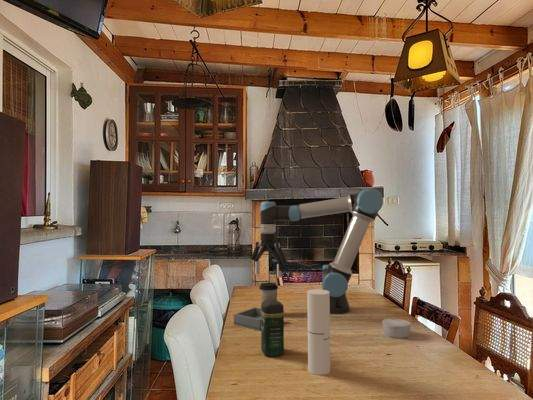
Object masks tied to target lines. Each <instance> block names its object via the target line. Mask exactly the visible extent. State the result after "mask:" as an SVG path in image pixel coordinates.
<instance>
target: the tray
mask: <svg viewBox="0 0 533 400" xmlns="http://www.w3.org/2000/svg"><path fill="white" fill-rule="evenodd" d="M233 325H235V326H238V327H243V328H248V329H251V330H256V331H259V332H260V331H261V307H256V306H254V307H251V308H248V309H245V310H243V311H240V312H236V313H234V314H233Z"/></svg>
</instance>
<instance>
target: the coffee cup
mask: <svg viewBox="0 0 533 400" xmlns="http://www.w3.org/2000/svg"><path fill="white" fill-rule="evenodd" d="M258 288H259V290H260V301H261V302H260V305H261V304H262V302H263V301H265V300H267V299H275V300H277V301H278V289H279V286H278V285H277V283H276V282H262V283H260V285H259V287H258Z"/></svg>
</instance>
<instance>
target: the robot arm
mask: <svg viewBox="0 0 533 400" xmlns="http://www.w3.org/2000/svg"><path fill="white" fill-rule="evenodd" d="M383 205H384V197H383V196H382V194H381V192H380V191H378V190H377V189H375V188H371V187H369V188H364V189H362V190H361V191H359V192H356V193H352V194H348V195H347V196H346V197H345V196H344V197H340V198H339V197H338V198H333V199H327V200H321V201H320V200H319V201H313V202H307V203H300V204H294V205H277V204H276V202H275V201H262V202H261V204H260V211H259V212H260V214H259V215H260V241H256V242H255V247H254V250H253V252H252V254H251V256H250V260H252V261H253V267H254V275H256V276H257V275H260V272H261V270H260V269H261V267H260V266H261V263H260V259H261V257H262V256H263V255H264V253H266V252H268V253H271V254H272V255H273V257H274V259H275V260H276V262H277V264H276V278H278V279H279V278H282V273H283V272H282V271H283V269H284V264H285V263H287V260H286V256H285V255H284V251H283V249H282V245H281V242H278V243H276V240H277V239H276V237H277V236H276V235H277V234H276V232H277V231H276V230H277V229H276V228H277V226H276V225H277V224H276V222H279V221H281V222H298V221H299V220H302V219H307V218H316V217H321V216H328V215H329V216H330V215H335V214H343V213H349V212H350V213H351V214H352V218H350V222H349V223H348V227H347V229H346V231H345V233H344V236H343V239H342V241H341V242H340V246H339V248H338V250H337V252H336V255H335V257H334V260H333V261H332V262H330V263H329V264H324V265H322V270H321V271H322V280H321V287H322V290H327V291H329V292H330V314H345V313H348V312H350V303H349V301H348V298H347V290H348V287H349V282H350V280H351V277H352V275H353V272H352V266H353V264H354V262H355V259H356V257H357V255H358V251H359V250H360V248H361V245H362V243H363V240H364V239H365V235H366V233H367V231H368V229H369V226H370V223H372V222H374V221H376V218H377V216H378V213H379V212H380V210H381V209H382V207H383Z"/></svg>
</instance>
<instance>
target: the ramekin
mask: <svg viewBox="0 0 533 400" xmlns="http://www.w3.org/2000/svg"><path fill="white" fill-rule="evenodd" d="M381 324H382V328H383V333H384V334H385V336H387V337H390V338H392V337H393V339H407V338H409V336H410V333H411V332H410V331H411V327H412V323H411V322H410V321H408V320H406V319H402V318H394V317H393V318H392V317H391V318H385V319H383V320H382V321H381ZM406 337H407V338H406Z"/></svg>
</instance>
